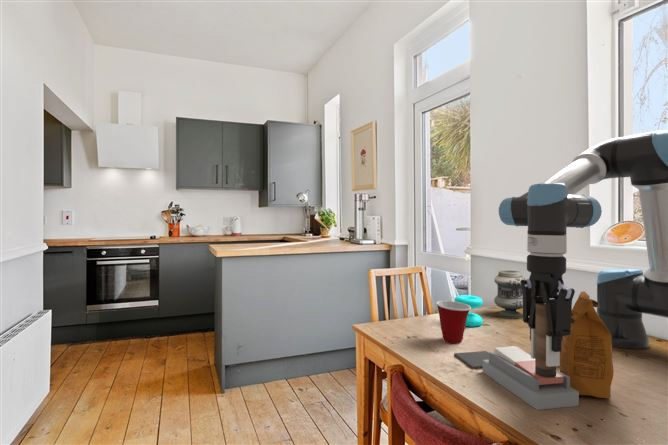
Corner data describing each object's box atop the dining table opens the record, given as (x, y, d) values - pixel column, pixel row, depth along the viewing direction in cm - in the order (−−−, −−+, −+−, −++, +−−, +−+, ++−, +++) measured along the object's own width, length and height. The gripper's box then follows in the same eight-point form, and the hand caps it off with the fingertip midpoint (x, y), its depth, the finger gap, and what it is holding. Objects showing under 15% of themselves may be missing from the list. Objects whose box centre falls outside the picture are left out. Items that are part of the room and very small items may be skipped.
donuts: (486, 300, 138) (458, 299, 138) (486, 327, 138) (458, 327, 138) (477, 294, 148) (451, 294, 148) (477, 320, 148) (451, 320, 148)
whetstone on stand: (517, 368, 101) (517, 347, 101) (578, 405, 81) (578, 379, 81) (482, 371, 99) (482, 350, 99) (536, 410, 80) (537, 383, 80)
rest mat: (485, 353, 113) (485, 351, 113) (507, 366, 103) (507, 363, 103) (454, 355, 111) (454, 353, 111) (473, 368, 101) (473, 366, 101)
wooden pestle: (547, 369, 86) (547, 302, 86) (560, 376, 82) (560, 306, 82) (531, 370, 86) (531, 303, 85) (544, 377, 82) (544, 307, 81)
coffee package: (605, 382, 93) (606, 291, 92) (616, 405, 82) (617, 302, 81) (557, 374, 97) (558, 288, 97) (562, 395, 86) (563, 297, 86)
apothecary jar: (502, 310, 164) (503, 268, 163) (532, 315, 154) (532, 271, 154) (488, 314, 156) (488, 270, 156) (518, 321, 147) (518, 274, 146)
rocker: (494, 352, 98) (494, 347, 97) (515, 351, 99) (515, 346, 98) (538, 385, 82) (539, 378, 82) (563, 382, 83) (563, 376, 83)
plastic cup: (471, 348, 117) (471, 308, 117) (434, 344, 120) (434, 306, 120) (470, 337, 127) (471, 301, 127) (437, 334, 131) (437, 299, 130)
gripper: (506, 251, 91) (505, 349, 92) (561, 258, 75) (559, 378, 75) (534, 251, 93) (532, 347, 93) (594, 258, 76) (592, 376, 76)
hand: (544, 361), depth 84 cm, fingers closed on wooden pestle, 4 cm apart
